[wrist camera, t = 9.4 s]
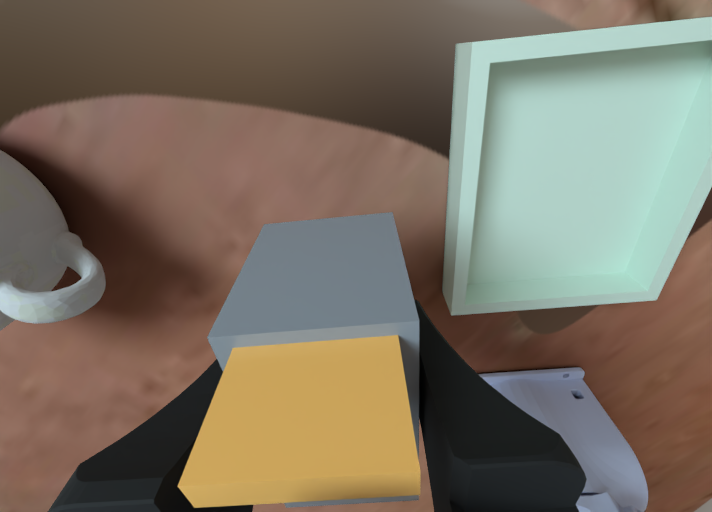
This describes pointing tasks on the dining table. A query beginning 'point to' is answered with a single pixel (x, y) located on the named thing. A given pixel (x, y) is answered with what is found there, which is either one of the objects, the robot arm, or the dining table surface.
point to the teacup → (40, 253)
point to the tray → (576, 165)
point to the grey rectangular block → (314, 373)
